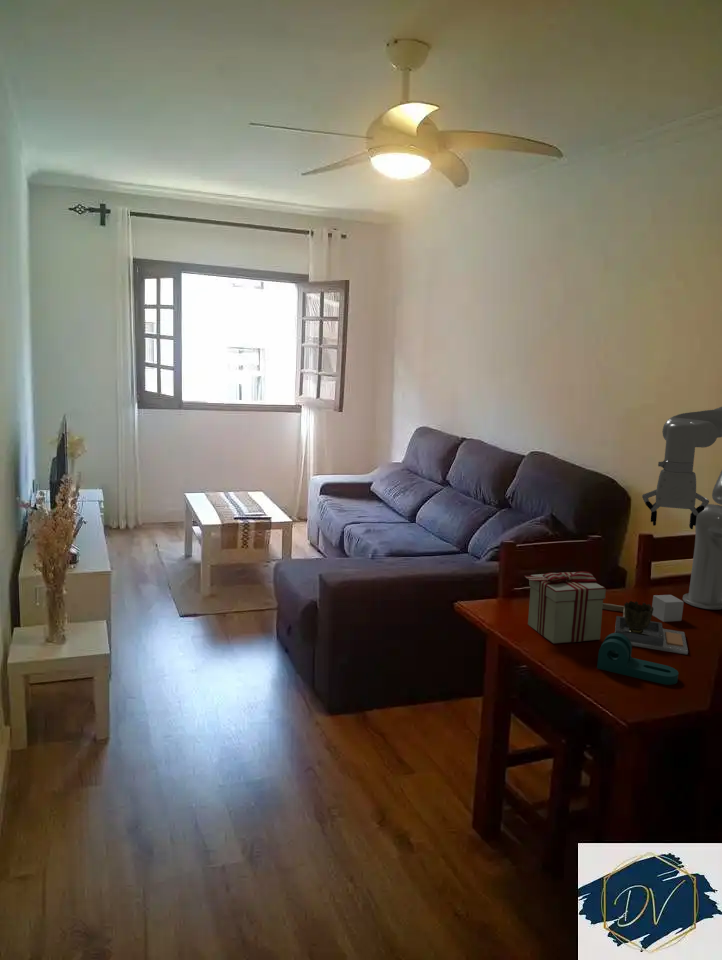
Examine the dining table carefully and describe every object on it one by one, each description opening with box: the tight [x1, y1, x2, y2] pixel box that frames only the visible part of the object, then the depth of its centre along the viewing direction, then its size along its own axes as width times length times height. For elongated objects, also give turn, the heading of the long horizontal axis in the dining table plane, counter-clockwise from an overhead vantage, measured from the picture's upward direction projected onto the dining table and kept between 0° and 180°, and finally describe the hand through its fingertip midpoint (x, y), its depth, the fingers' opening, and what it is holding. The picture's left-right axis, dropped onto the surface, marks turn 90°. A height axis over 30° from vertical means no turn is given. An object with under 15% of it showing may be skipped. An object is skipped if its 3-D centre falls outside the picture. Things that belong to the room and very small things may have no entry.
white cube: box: [651, 594, 685, 623], centre depth 213 cm, size 6×6×6 cm
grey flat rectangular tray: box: [614, 615, 689, 655], centre depth 196 cm, size 14×18×3 cm
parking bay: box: [602, 602, 625, 617], centre depth 213 cm, size 12×12×2 cm
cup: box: [623, 600, 654, 634], centre depth 197 cm, size 8×7×8 cm
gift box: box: [524, 570, 607, 645], centre depth 198 cm, size 17×18×17 cm
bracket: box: [596, 632, 679, 686], centre depth 175 cm, size 18×7×8 cm, turn 61°
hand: (672, 526), depth 204 cm, fingers open, 9 cm apart
